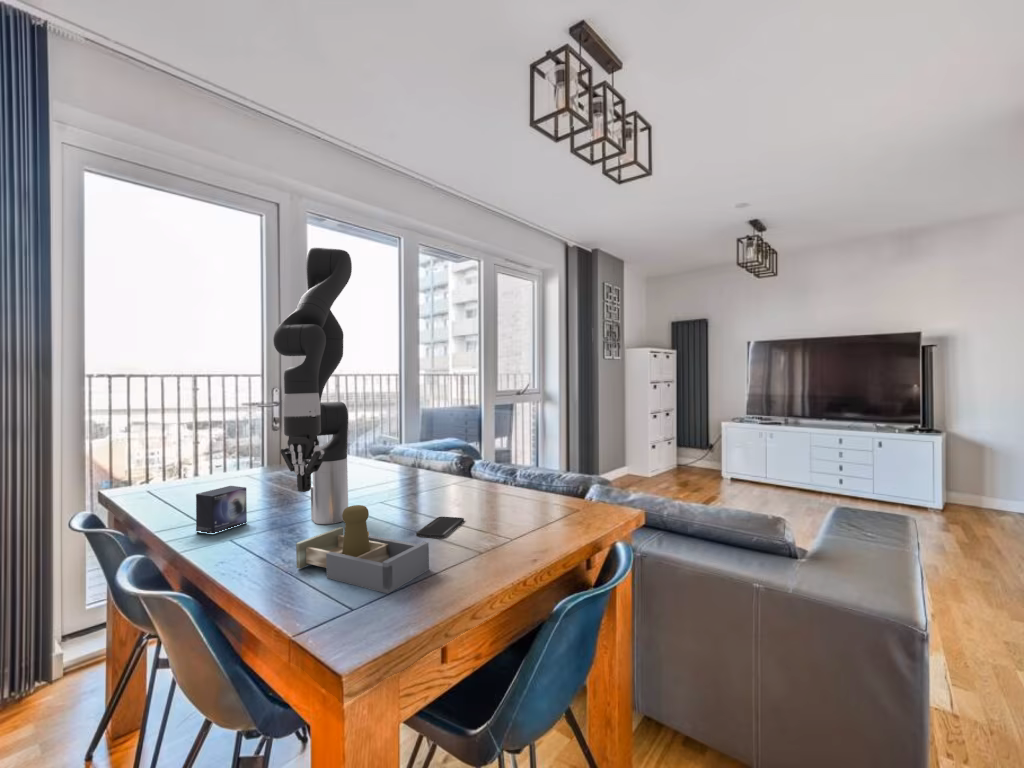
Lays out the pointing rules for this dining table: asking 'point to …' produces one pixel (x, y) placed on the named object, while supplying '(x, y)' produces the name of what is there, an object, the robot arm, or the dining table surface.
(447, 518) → the phone
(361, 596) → the dining table surface
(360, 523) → the olive tall rounded piece
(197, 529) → the small box
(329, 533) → the drawer
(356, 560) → the grey open box
